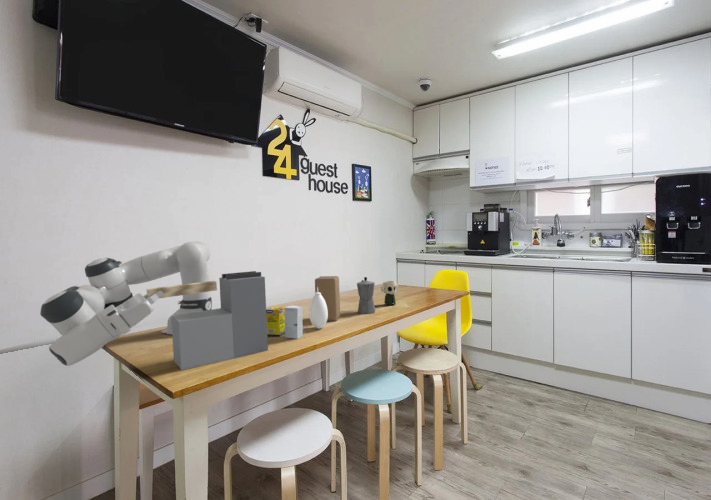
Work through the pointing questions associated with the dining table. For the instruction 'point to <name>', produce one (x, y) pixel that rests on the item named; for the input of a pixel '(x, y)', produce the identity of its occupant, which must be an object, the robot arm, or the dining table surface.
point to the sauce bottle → (318, 311)
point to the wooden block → (329, 294)
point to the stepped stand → (224, 324)
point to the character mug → (389, 291)
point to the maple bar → (184, 289)
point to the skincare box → (293, 322)
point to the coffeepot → (366, 296)
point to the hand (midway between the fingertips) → (161, 291)
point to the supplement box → (275, 321)
